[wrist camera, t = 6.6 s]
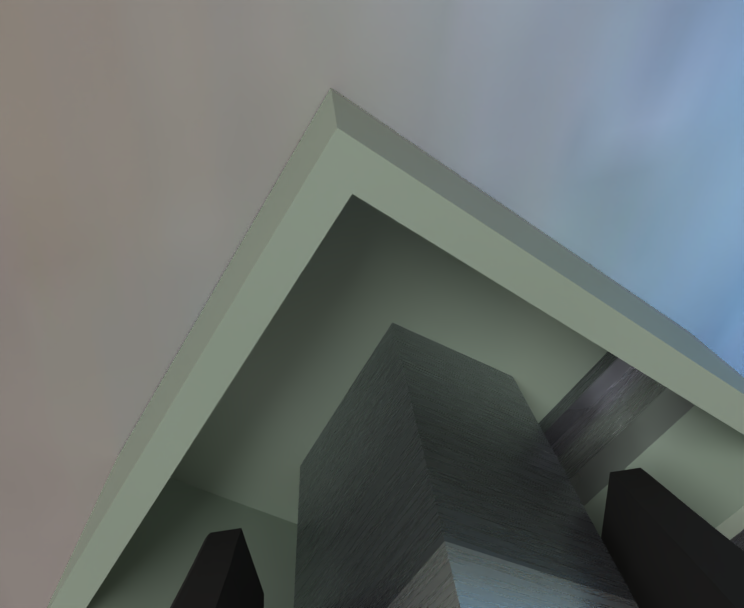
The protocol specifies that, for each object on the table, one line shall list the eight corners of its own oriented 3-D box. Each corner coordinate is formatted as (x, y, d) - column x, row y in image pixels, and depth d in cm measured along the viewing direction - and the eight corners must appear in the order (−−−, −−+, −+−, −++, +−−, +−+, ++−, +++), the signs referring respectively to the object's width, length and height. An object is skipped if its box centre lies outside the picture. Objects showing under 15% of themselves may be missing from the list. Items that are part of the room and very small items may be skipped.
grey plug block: (512, 376, 14) (673, 670, 7) (412, 503, 15) (473, 822, 9) (392, 322, 12) (461, 613, 6) (300, 465, 14) (284, 797, 8)
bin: (689, 332, 14) (838, 456, 10) (441, 575, 18) (475, 735, 14) (330, 87, 11) (337, 127, 6) (117, 457, 14) (38, 626, 10)
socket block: (833, 454, 17) (900, 510, 15) (612, 625, 20) (642, 689, 18) (620, 314, 14) (669, 362, 12) (400, 546, 17) (411, 612, 15)
